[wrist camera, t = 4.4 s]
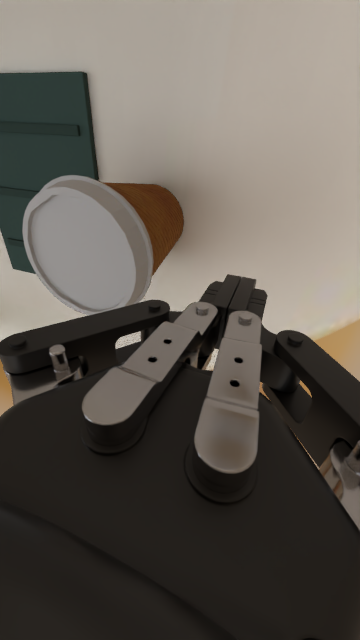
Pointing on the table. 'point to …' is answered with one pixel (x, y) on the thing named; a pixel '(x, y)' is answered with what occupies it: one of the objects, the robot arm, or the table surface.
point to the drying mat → (40, 144)
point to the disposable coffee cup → (99, 240)
